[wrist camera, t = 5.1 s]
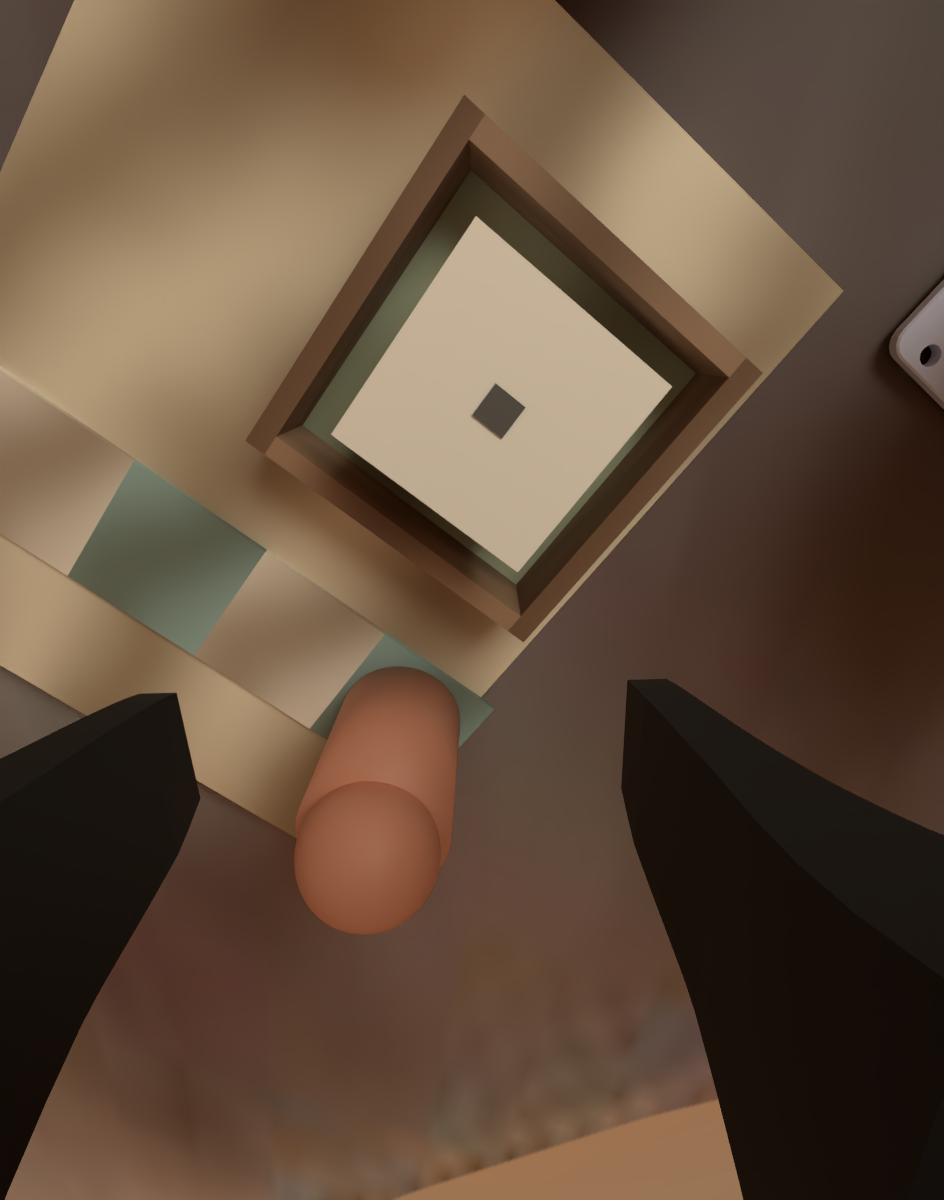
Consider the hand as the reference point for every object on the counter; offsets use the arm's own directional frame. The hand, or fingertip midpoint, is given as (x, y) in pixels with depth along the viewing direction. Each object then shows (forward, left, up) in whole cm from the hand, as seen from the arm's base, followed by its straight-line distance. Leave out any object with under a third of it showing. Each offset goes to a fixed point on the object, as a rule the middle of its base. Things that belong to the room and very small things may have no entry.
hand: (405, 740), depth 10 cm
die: (+2, -5, -8) cm, 10 cm away
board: (+5, -1, -9) cm, 11 cm away
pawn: (-2, +4, -8) cm, 9 cm away
